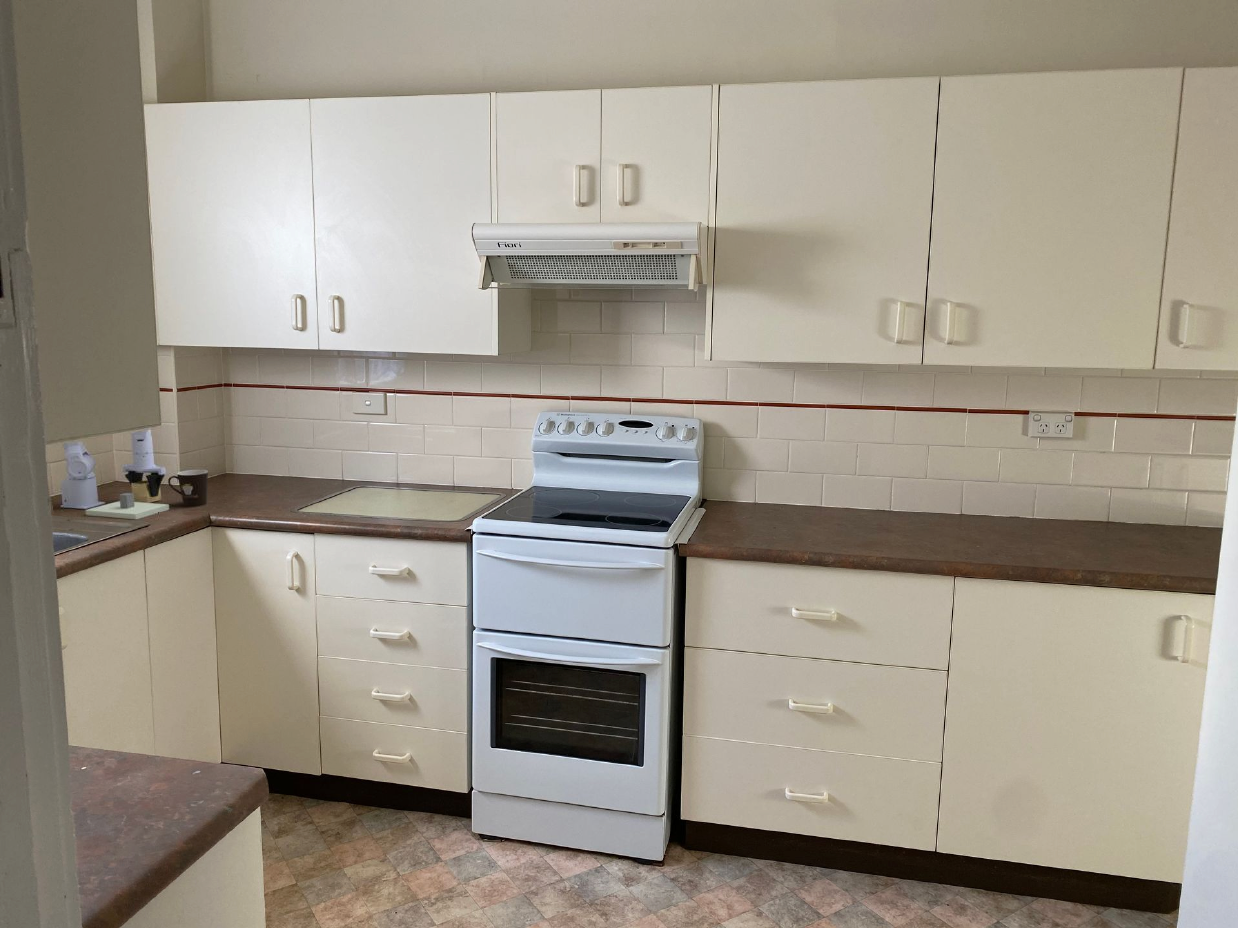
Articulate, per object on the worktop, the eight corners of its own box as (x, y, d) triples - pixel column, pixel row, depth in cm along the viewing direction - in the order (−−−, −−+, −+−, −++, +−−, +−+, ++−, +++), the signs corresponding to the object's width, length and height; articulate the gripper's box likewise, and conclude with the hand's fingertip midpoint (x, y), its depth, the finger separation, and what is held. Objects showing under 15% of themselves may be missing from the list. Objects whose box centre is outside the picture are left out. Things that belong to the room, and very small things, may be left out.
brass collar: (132, 502, 292) (131, 483, 291) (146, 498, 297) (144, 479, 296) (147, 503, 290) (146, 484, 289) (161, 499, 295) (159, 480, 294)
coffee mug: (216, 503, 292) (213, 471, 290) (191, 508, 285) (188, 476, 283) (192, 499, 298) (190, 467, 296) (167, 504, 290) (164, 472, 289)
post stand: (85, 515, 276) (83, 496, 275) (120, 505, 289) (118, 488, 288) (135, 519, 271) (134, 500, 270) (169, 509, 283) (167, 491, 282)
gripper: (171, 451, 292) (175, 494, 295) (133, 449, 297) (137, 491, 299) (154, 455, 286) (158, 499, 288) (116, 453, 290) (120, 496, 292)
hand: (146, 495), depth 293 cm, fingers closed on brass collar, 6 cm apart
